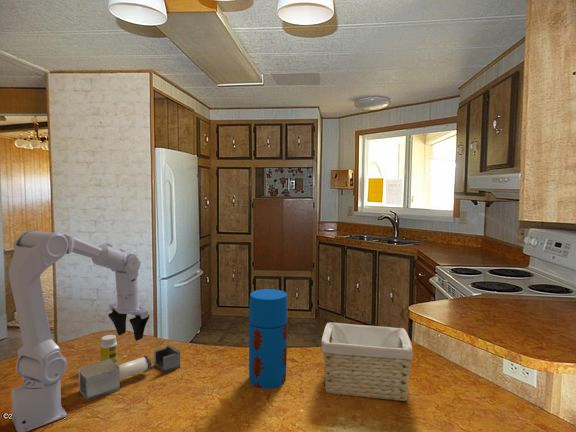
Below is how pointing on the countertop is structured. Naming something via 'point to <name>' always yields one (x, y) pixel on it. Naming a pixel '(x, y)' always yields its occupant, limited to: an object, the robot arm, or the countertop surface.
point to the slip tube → (134, 366)
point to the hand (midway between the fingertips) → (130, 336)
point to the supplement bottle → (108, 348)
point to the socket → (167, 358)
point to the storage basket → (367, 360)
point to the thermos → (267, 338)
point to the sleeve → (99, 379)
